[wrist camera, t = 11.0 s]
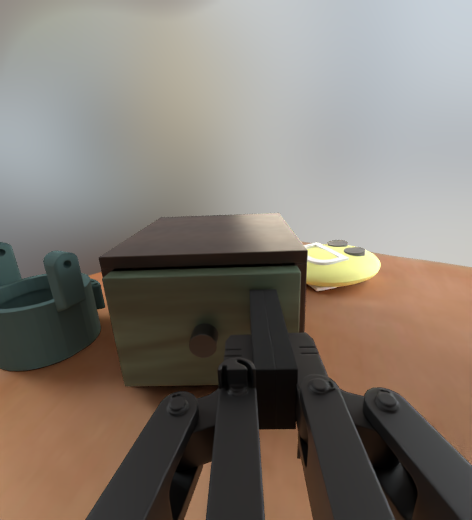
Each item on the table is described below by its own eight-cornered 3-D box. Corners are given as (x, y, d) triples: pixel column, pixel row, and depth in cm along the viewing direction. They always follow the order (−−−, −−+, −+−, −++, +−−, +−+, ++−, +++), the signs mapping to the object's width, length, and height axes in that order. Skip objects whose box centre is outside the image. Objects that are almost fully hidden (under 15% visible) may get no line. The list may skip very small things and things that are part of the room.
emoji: (309, 274, 29) (406, 252, 31) (267, 246, 40) (341, 231, 42) (310, 308, 30) (403, 284, 33) (269, 271, 41) (341, 256, 44)
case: (302, 381, 20) (307, 250, 16) (124, 384, 20) (98, 257, 17) (278, 295, 32) (279, 212, 29) (170, 298, 33) (160, 217, 30)
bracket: (94, 359, 23) (70, 254, 20) (-38, 381, 21) (-85, 269, 18) (113, 309, 31) (98, 230, 28) (20, 321, 29) (-6, 238, 26)
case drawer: (301, 398, 17) (306, 280, 14) (116, 401, 17) (90, 287, 15) (275, 297, 30) (275, 226, 27) (170, 300, 30) (161, 230, 28)
